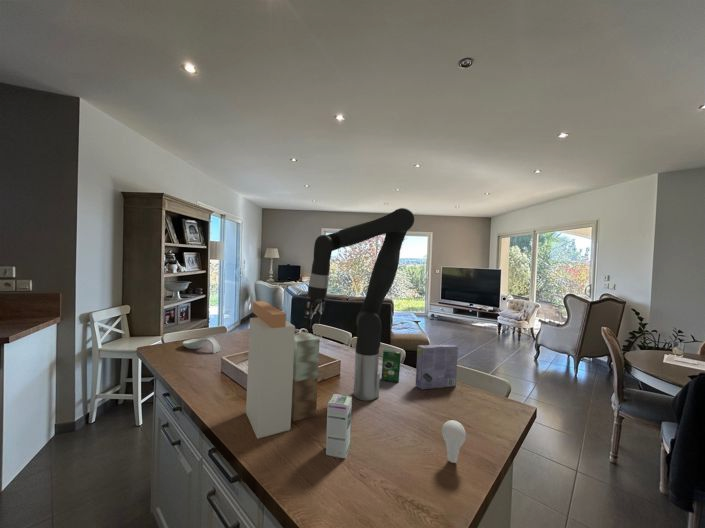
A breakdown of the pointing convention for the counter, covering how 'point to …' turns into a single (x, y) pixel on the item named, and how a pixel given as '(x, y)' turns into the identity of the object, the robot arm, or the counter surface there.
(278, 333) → the stand
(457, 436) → the lightbulb
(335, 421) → the syrup box
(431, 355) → the cake pan box
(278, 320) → the bar
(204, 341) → the spoon rest
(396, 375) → the coffee box
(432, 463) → the counter surface
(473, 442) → the counter surface
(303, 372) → the tower
